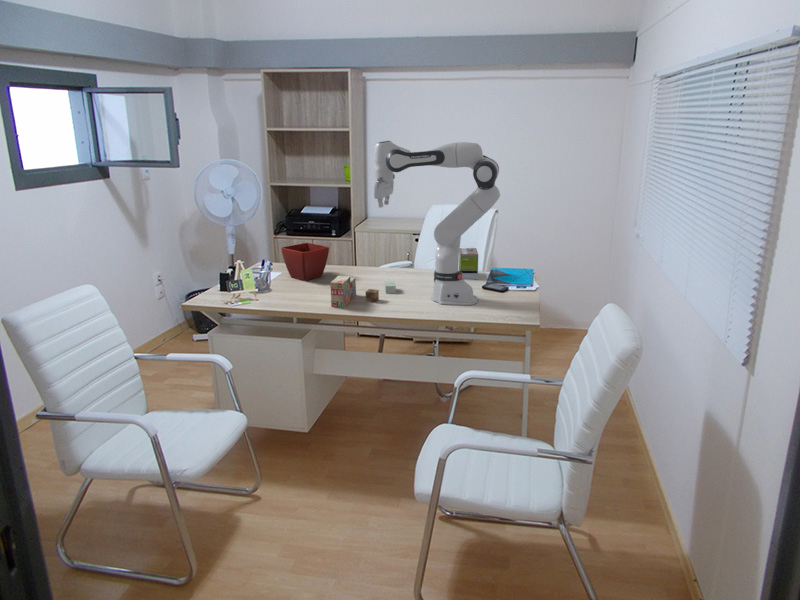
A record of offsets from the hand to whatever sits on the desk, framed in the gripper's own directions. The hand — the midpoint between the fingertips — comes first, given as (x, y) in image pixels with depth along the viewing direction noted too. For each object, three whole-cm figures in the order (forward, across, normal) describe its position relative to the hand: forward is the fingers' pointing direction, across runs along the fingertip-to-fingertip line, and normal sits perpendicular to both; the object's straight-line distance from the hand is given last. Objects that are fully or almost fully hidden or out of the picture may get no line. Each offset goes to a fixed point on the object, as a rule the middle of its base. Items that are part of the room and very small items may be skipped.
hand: (383, 205), depth 282 cm
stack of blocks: (+45, -15, +16) cm, 50 cm away
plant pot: (+45, +21, +51) cm, 71 cm away
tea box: (+45, +48, -35) cm, 74 cm away
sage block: (+45, +7, -1) cm, 45 cm away
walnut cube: (+44, -11, +3) cm, 46 cm away
